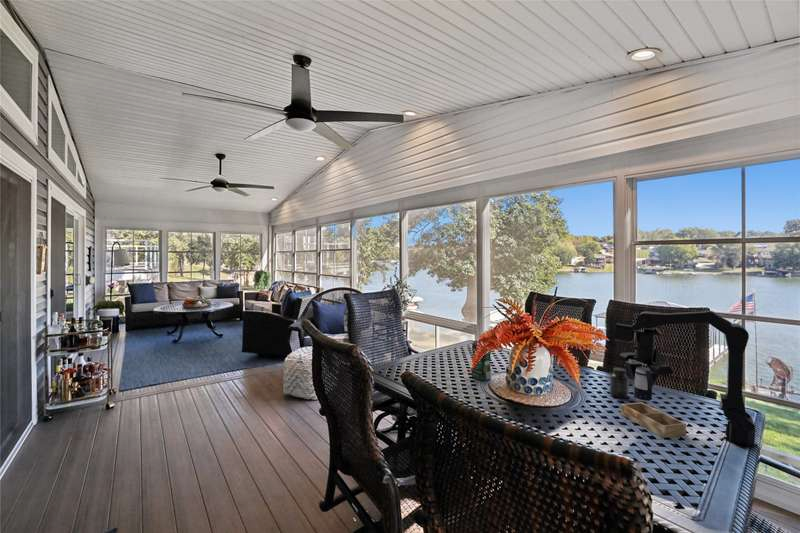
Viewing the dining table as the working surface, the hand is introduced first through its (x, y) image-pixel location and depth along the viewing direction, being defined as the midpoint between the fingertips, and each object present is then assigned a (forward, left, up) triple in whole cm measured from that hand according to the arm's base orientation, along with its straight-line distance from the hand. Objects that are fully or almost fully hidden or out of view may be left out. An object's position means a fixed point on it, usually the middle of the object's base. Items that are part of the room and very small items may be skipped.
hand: (643, 385), depth 140 cm
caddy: (-5, 0, -13) cm, 14 cm away
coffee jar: (+53, +42, -13) cm, 69 cm away
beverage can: (0, 0, -6) cm, 6 cm away
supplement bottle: (+20, -9, -13) cm, 26 cm away
